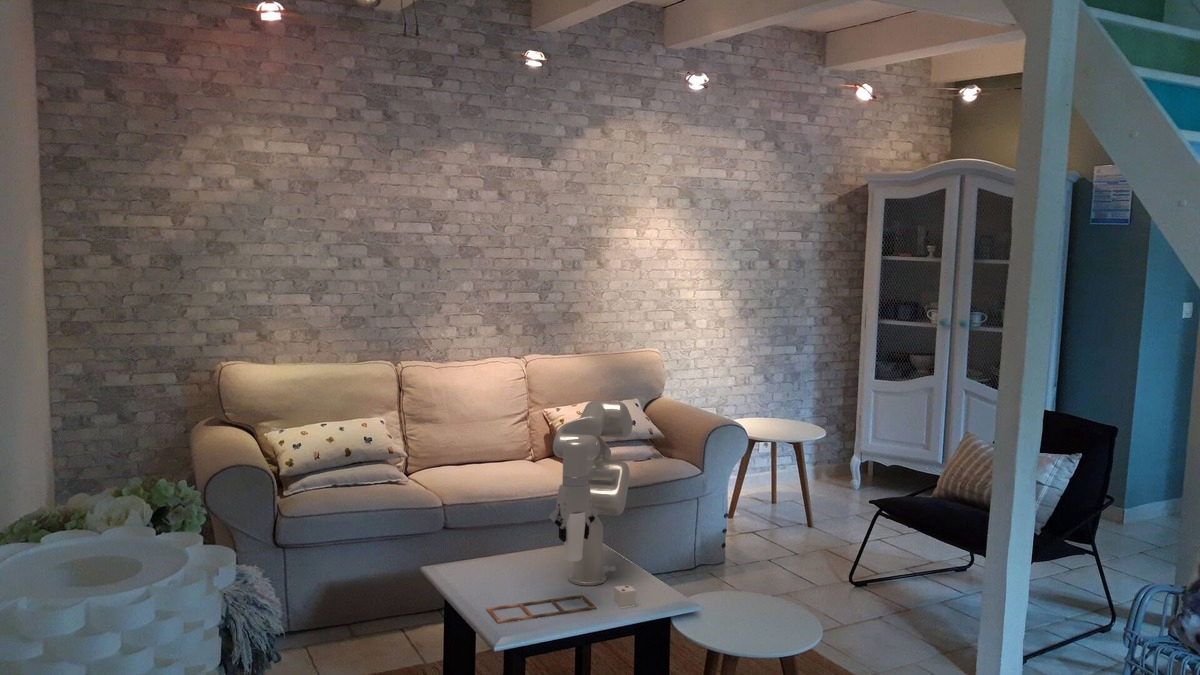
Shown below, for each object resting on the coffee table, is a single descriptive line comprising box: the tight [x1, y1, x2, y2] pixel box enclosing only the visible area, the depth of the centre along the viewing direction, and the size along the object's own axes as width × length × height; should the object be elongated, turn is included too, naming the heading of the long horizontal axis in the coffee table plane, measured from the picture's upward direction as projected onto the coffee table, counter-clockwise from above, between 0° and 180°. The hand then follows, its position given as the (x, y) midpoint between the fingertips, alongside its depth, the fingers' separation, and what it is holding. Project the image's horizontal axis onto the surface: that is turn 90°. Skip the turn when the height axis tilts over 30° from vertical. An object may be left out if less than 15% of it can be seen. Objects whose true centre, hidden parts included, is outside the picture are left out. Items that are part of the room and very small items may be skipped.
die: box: [613, 584, 637, 608], centre depth 276 cm, size 5×5×5 cm
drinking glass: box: [563, 512, 586, 563], centre depth 273 cm, size 7×7×15 cm
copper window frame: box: [485, 594, 598, 624], centre depth 271 cm, size 31×11×1 cm, turn 114°
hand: (573, 538), depth 273 cm, fingers closed on drinking glass, 6 cm apart
